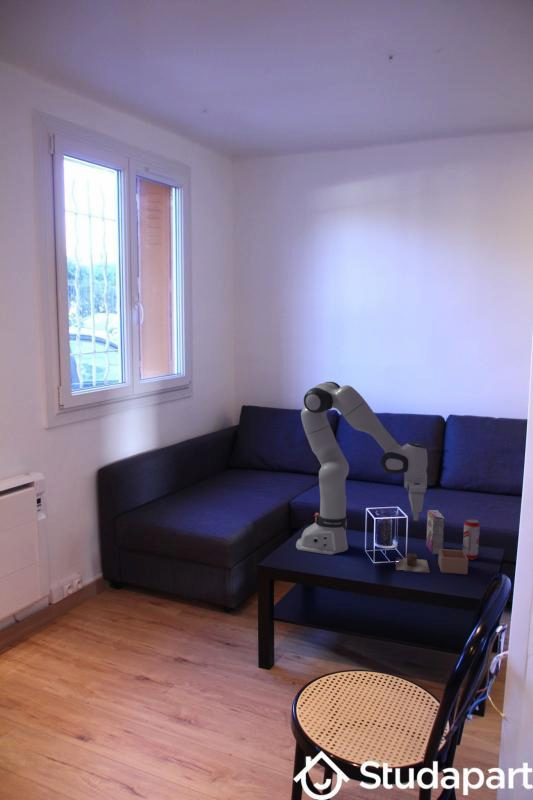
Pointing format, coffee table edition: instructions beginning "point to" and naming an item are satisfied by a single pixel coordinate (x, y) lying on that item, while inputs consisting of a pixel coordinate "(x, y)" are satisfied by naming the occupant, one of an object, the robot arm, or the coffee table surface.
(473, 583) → the coffee table surface
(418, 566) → the lid
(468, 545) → the beer can
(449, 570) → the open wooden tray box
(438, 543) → the candy bar box
